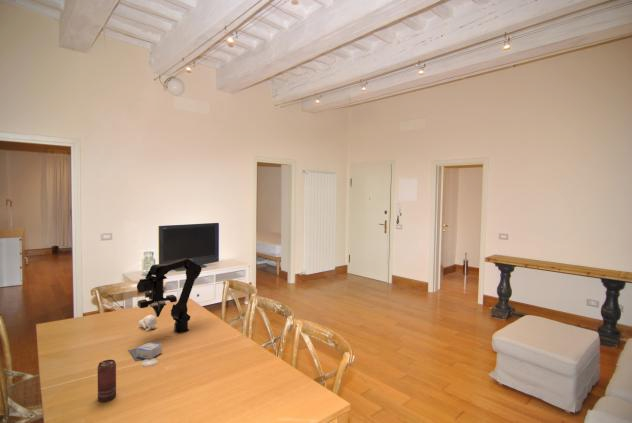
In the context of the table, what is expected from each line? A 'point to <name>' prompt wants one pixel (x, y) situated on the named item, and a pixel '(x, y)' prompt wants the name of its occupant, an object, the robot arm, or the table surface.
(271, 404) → the table surface
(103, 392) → the can
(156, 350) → the medicine box
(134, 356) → the mat
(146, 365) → the white glossy disc
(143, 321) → the white animal figurine
